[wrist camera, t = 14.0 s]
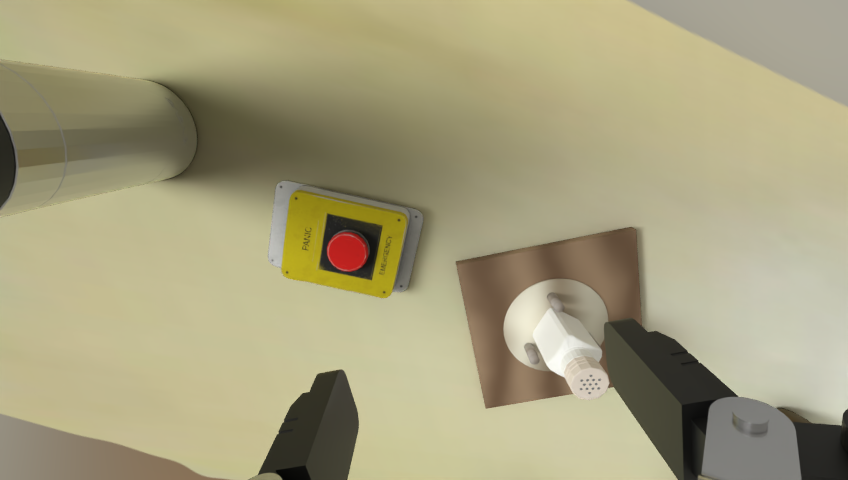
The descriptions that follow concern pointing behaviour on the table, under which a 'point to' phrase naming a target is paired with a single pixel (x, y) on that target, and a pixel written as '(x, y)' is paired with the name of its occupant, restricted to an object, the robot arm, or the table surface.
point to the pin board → (544, 307)
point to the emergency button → (343, 239)
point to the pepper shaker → (571, 354)
